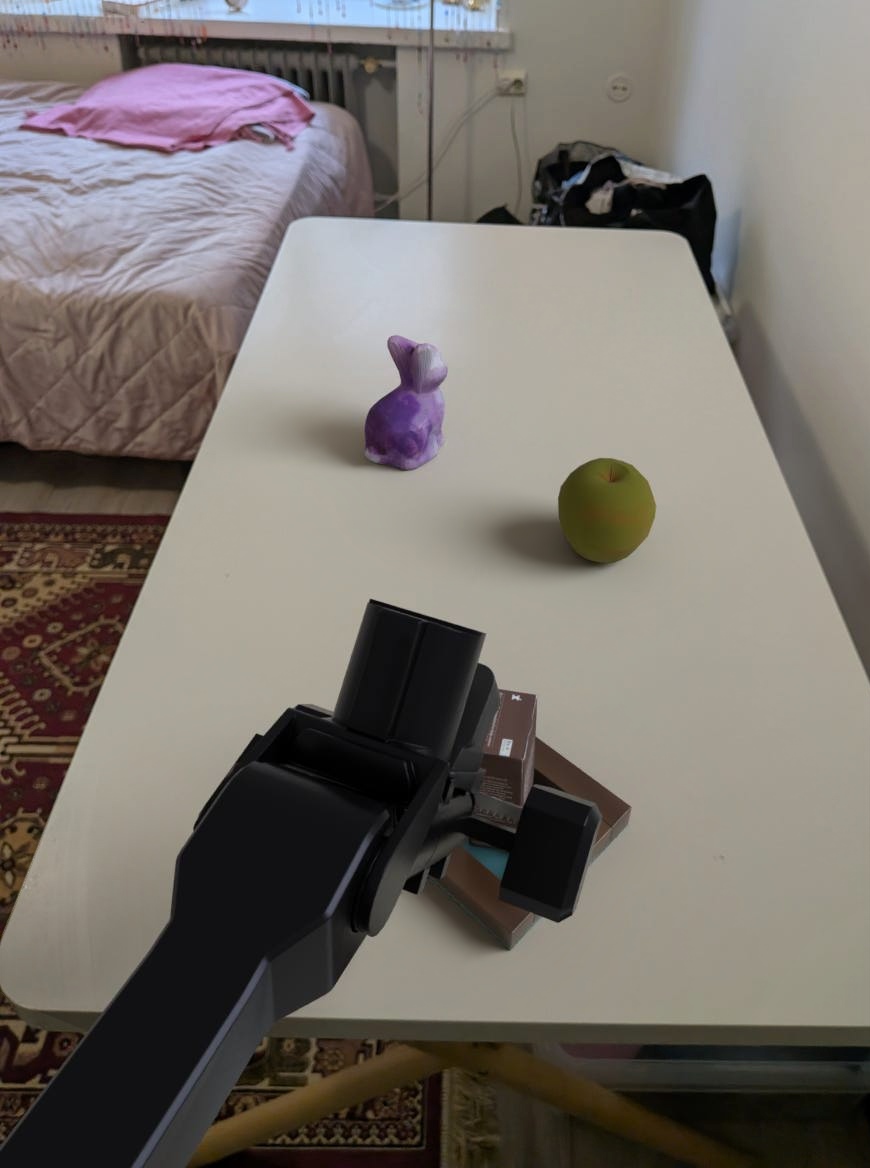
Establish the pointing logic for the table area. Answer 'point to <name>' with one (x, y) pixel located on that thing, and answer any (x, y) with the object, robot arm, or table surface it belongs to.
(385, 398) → the figurine
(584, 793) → the socket
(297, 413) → the table surface
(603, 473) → the apple
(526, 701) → the box
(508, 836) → the robot arm
